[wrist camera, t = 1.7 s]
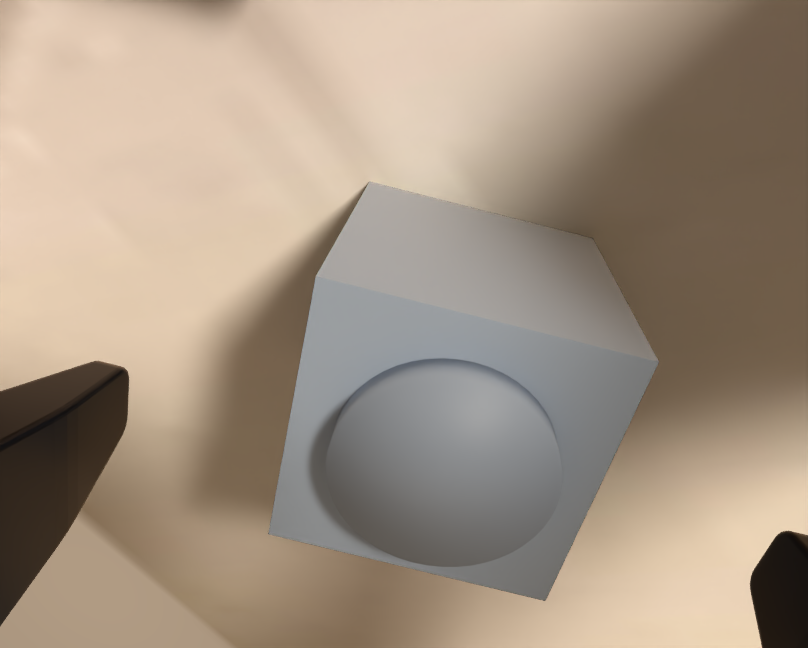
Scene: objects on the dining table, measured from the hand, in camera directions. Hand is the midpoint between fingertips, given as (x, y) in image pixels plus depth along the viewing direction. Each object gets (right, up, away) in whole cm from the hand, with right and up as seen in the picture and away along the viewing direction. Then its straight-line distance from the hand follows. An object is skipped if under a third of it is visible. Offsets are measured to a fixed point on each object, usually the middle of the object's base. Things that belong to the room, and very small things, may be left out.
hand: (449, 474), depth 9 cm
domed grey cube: (0, +2, +5) cm, 6 cm away
